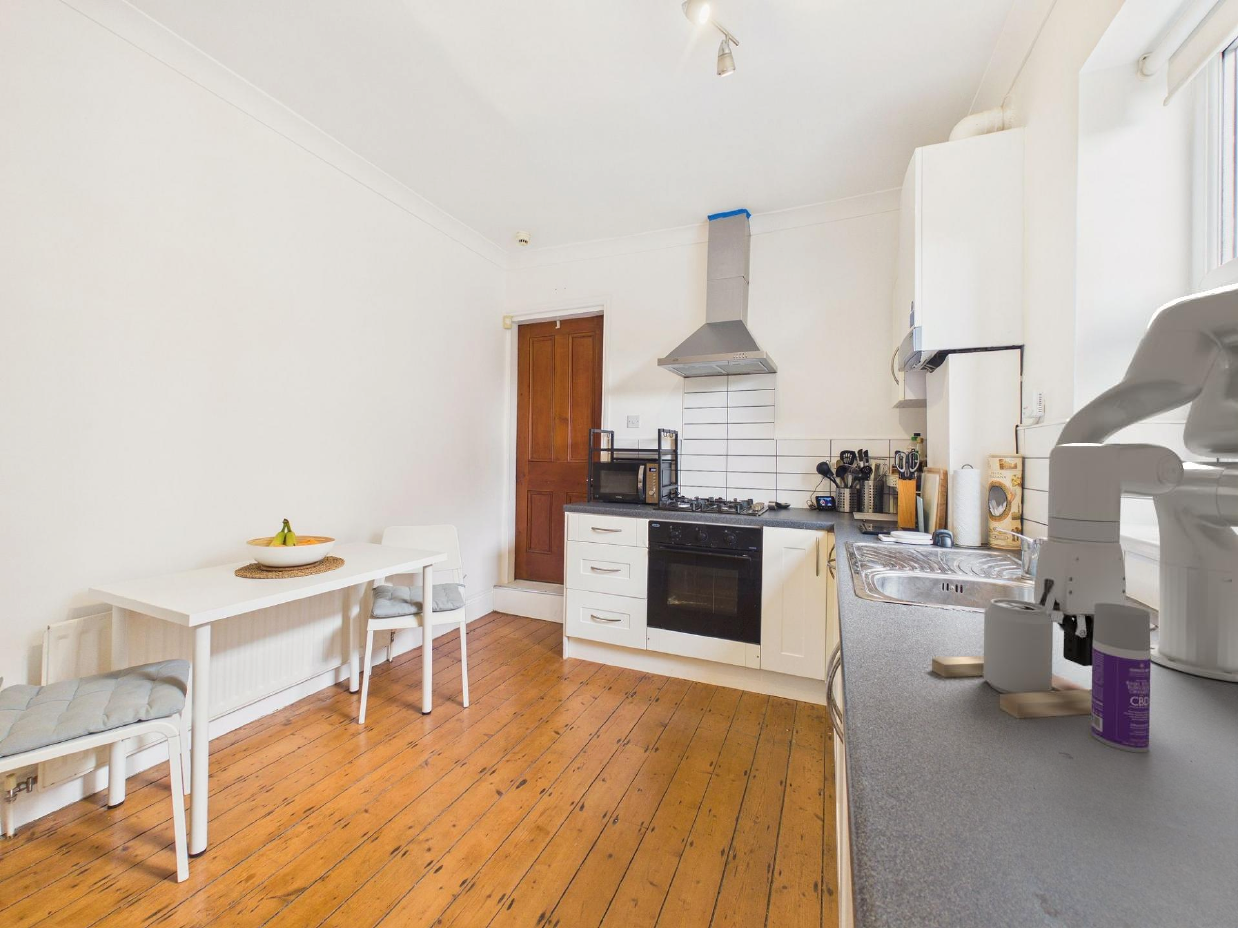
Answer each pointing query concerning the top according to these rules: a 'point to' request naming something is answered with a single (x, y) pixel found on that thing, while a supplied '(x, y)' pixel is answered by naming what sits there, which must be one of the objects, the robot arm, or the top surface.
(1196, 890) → the top surface
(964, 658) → the channel
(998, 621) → the can
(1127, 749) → the container
